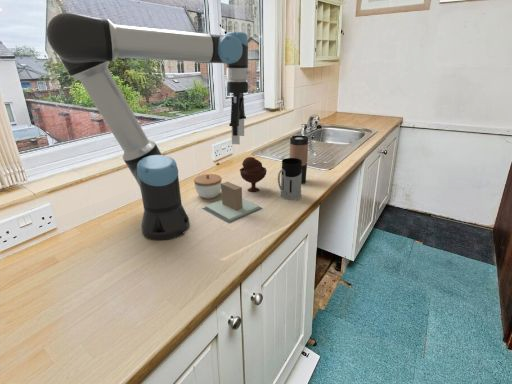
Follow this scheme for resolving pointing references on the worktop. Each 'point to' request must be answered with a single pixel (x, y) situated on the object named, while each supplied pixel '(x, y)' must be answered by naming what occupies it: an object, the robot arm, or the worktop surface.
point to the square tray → (232, 220)
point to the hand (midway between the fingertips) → (238, 139)
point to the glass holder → (290, 179)
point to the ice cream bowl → (252, 172)
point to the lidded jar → (208, 185)
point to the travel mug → (300, 152)
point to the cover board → (229, 212)
